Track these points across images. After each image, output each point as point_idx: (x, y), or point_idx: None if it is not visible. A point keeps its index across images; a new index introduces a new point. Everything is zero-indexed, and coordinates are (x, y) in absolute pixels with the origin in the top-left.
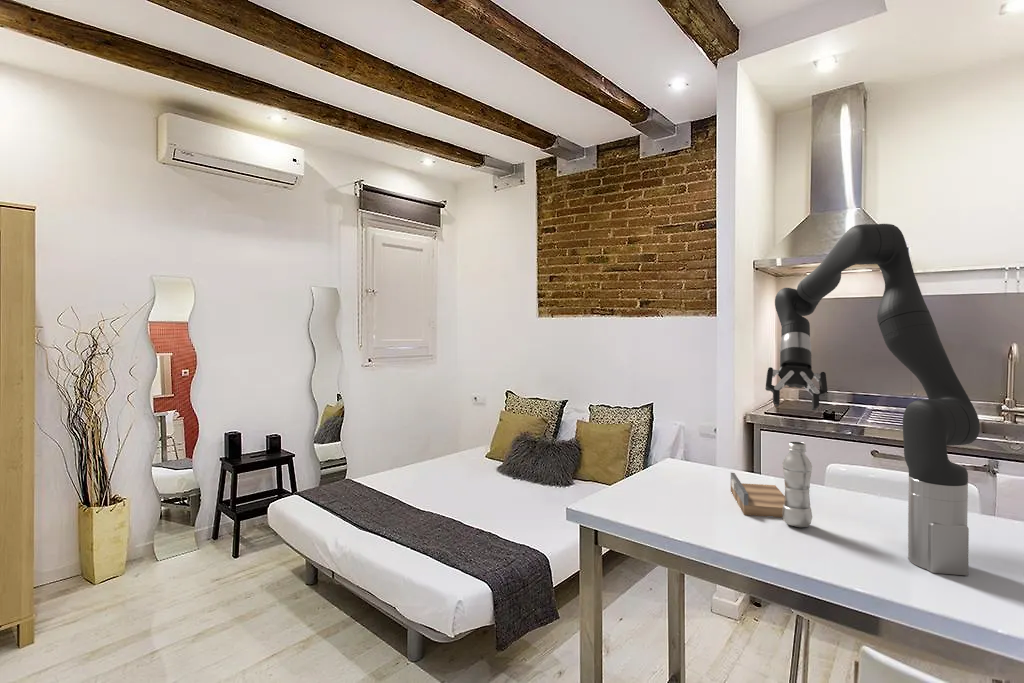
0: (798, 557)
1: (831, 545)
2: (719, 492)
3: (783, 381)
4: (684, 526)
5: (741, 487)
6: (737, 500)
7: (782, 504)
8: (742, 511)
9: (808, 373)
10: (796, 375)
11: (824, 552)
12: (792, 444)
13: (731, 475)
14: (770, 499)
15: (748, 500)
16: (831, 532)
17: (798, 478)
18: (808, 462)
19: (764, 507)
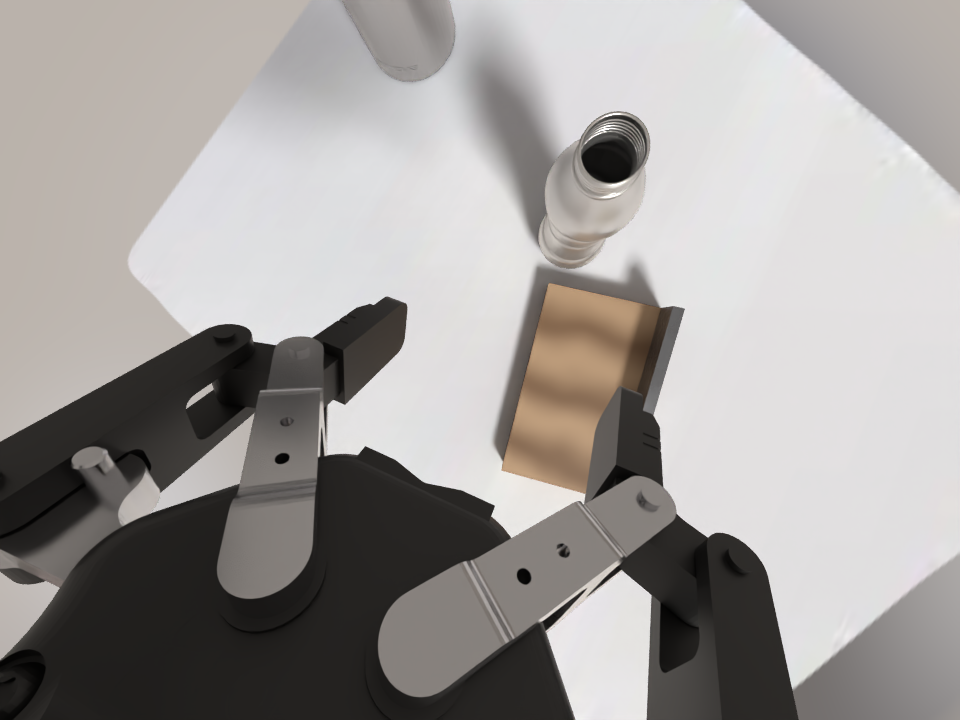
0: (668, 54)
1: (558, 124)
2: None
3: (579, 530)
4: (859, 233)
5: (663, 366)
6: None
7: (565, 314)
8: None
9: (159, 567)
10: (355, 593)
11: (595, 85)
12: (646, 129)
13: None
14: (576, 353)
15: (640, 347)
16: (514, 199)
17: (605, 161)
18: (574, 143)
19: (620, 299)
